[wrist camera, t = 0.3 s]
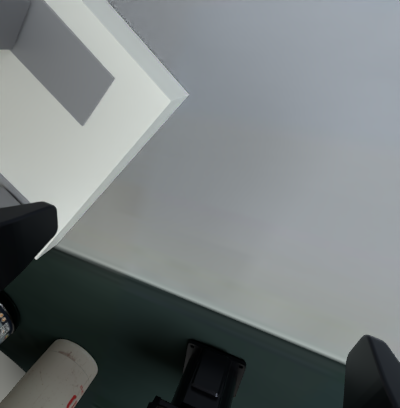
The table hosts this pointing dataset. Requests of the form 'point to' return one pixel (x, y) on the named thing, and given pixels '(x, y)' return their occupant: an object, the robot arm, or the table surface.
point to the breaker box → (77, 105)
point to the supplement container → (7, 317)
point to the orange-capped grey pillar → (7, 199)
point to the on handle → (11, 21)
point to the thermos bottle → (54, 378)
